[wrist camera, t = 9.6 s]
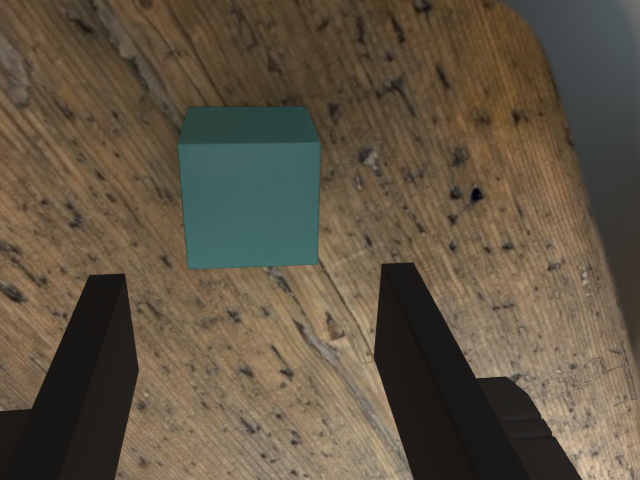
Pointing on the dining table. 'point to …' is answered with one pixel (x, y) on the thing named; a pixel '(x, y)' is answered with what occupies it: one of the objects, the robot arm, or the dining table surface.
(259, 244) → the block
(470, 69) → the dining table surface
